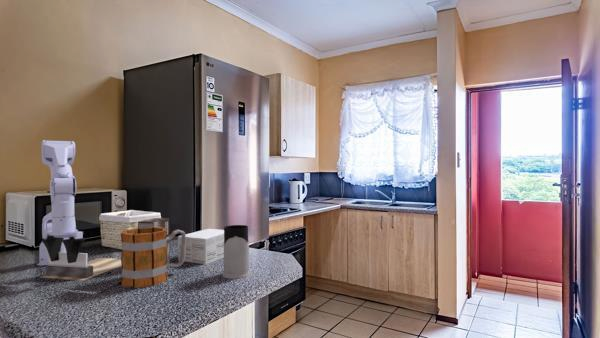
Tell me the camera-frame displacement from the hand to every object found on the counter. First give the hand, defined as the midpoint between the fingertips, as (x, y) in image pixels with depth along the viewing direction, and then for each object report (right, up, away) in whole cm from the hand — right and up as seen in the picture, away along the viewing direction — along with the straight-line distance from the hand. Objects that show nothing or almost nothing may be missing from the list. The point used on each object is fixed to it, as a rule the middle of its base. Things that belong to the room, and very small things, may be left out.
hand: (63, 261), depth 107 cm
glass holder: (+52, -5, +7) cm, 52 cm away
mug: (+28, -6, +1) cm, 28 cm away
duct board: (+2, -6, +11) cm, 13 cm away
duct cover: (0, 0, +2) cm, 2 cm away
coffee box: (+22, -6, +15) cm, 27 cm away
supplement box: (+37, -6, +27) cm, 46 cm away
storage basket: (-3, -6, +48) cm, 48 cm away
